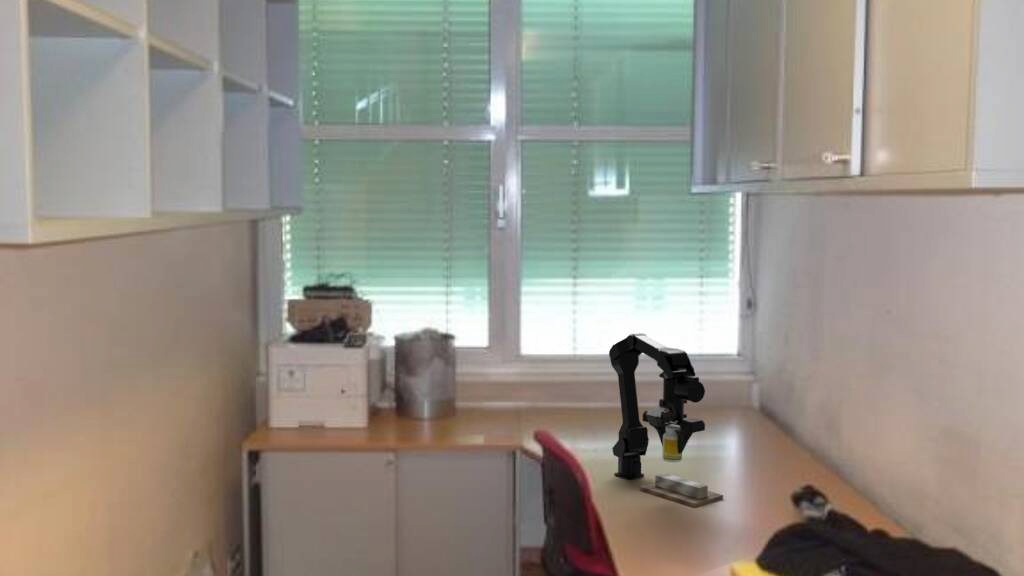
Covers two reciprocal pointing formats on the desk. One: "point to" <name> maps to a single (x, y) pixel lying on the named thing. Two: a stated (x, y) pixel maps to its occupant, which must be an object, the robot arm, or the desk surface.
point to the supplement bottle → (671, 444)
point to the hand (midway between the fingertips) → (672, 451)
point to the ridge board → (680, 496)
